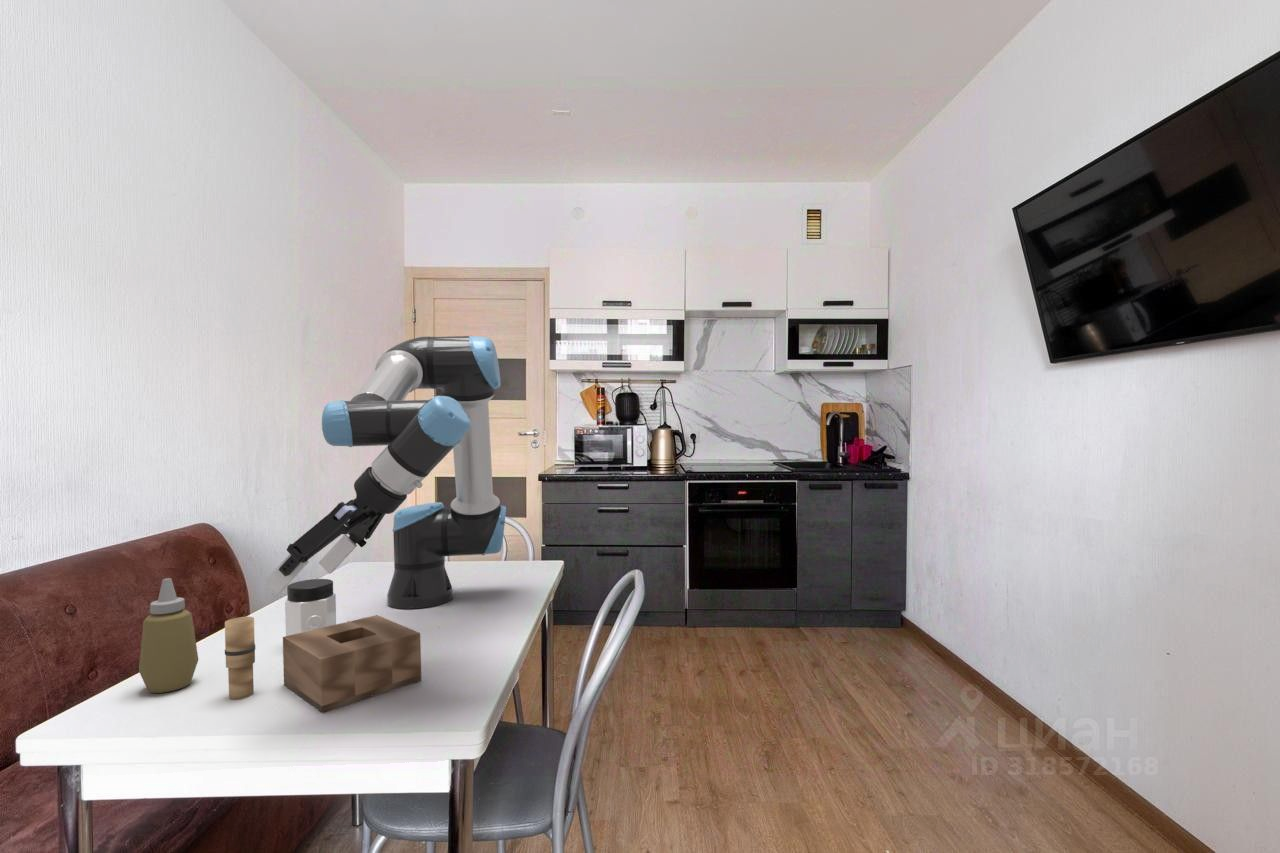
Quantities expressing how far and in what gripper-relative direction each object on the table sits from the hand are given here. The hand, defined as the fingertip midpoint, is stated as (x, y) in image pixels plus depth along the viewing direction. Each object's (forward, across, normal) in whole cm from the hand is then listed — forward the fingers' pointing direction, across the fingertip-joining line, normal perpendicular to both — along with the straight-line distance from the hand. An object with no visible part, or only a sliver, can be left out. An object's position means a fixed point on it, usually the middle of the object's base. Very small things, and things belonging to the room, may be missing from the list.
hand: (300, 577), depth 104 cm
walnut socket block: (+10, +6, -17) cm, 21 cm away
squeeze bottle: (+31, +3, +4) cm, 32 cm away
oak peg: (+21, +1, -6) cm, 22 cm away
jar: (+23, +24, -4) cm, 34 cm away
